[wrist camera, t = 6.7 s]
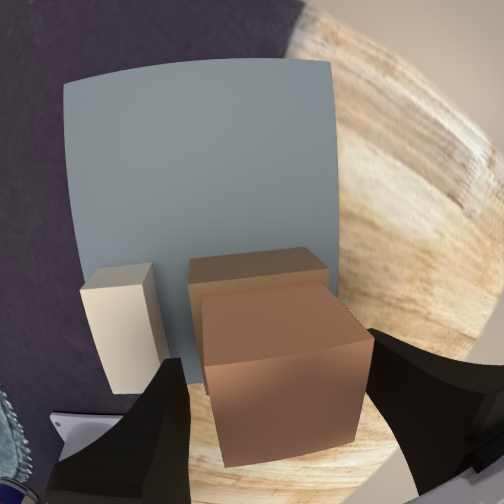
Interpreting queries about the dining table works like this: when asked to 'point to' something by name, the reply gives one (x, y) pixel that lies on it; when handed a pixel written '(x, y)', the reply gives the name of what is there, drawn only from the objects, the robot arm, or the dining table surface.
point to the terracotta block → (283, 370)
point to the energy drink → (15, 493)
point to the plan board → (196, 198)
